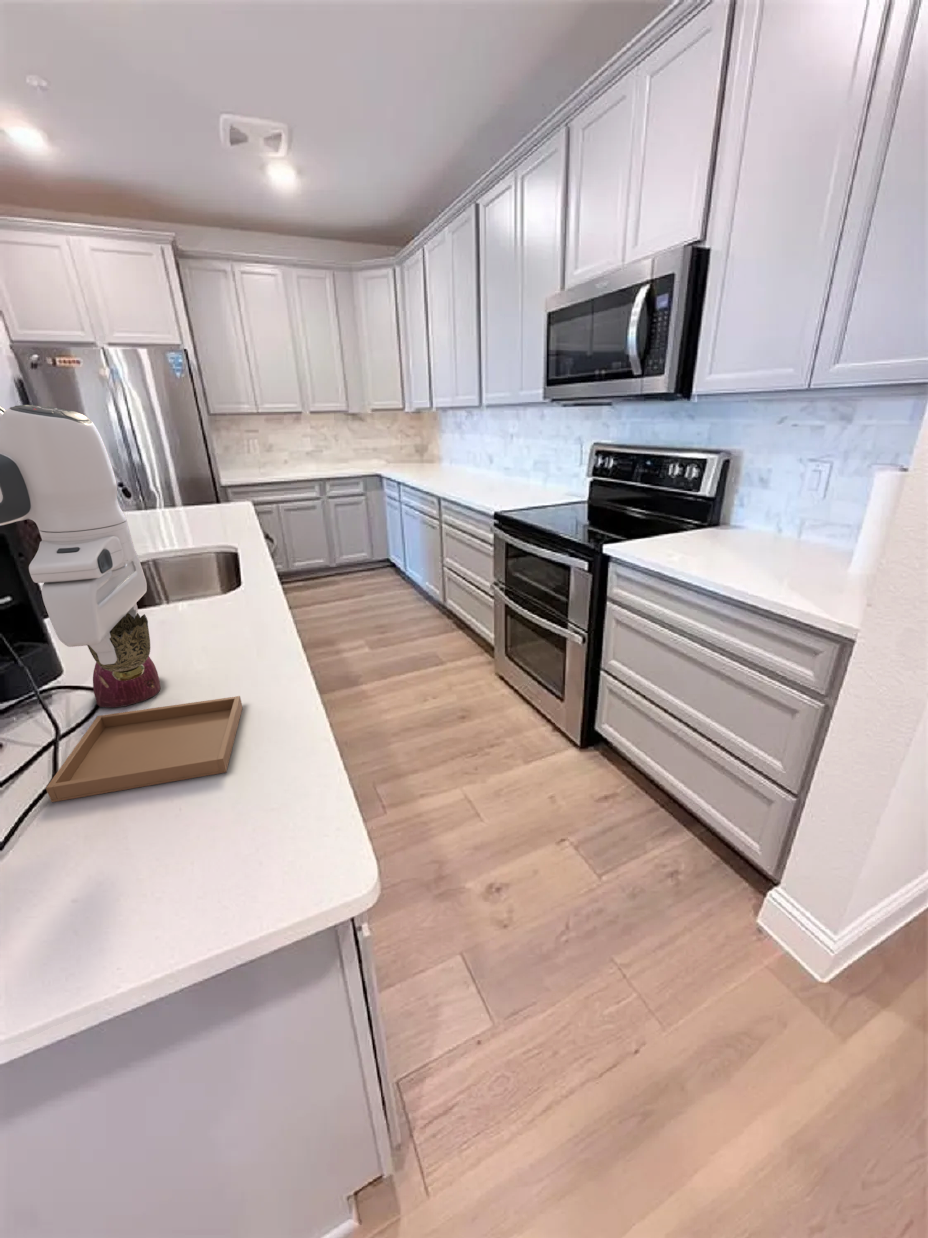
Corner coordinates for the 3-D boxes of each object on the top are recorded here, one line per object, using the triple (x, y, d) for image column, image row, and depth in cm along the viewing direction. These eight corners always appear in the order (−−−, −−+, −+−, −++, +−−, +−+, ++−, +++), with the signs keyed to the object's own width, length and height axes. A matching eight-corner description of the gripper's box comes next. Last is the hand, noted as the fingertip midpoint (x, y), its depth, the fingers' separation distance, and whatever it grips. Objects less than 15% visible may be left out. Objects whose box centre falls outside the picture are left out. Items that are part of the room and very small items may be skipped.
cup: (153, 685, 67) (137, 630, 64) (89, 693, 65) (70, 637, 62) (166, 660, 74) (152, 609, 71) (108, 667, 72) (92, 615, 69)
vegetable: (147, 690, 100) (144, 615, 98) (172, 699, 94) (168, 619, 92) (84, 701, 92) (79, 619, 90) (106, 712, 86) (101, 624, 84)
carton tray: (51, 802, 67) (45, 788, 66) (101, 728, 83) (97, 715, 82) (226, 772, 72) (222, 758, 71) (242, 707, 88) (240, 695, 87)
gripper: (94, 531, 71) (121, 621, 77) (19, 573, 53) (61, 688, 58) (144, 528, 73) (167, 617, 78) (88, 568, 54) (122, 680, 60)
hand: (121, 648), depth 68 cm, fingers closed on cup, 7 cm apart
